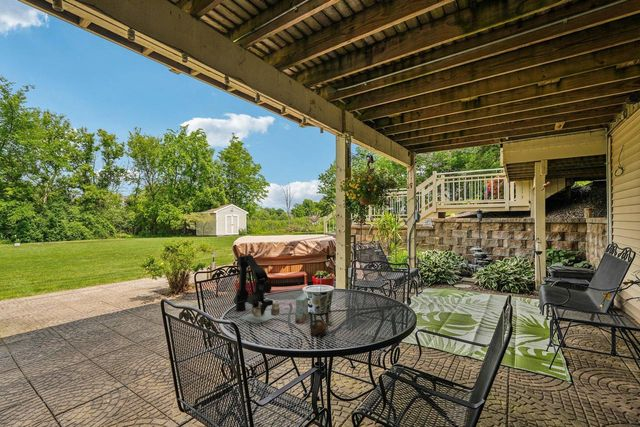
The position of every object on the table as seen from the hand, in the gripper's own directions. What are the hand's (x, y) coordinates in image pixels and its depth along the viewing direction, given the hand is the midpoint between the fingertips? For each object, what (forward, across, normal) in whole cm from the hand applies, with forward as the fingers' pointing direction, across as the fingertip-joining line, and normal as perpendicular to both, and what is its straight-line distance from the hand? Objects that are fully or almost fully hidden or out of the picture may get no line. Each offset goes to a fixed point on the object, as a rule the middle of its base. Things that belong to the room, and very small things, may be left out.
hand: (259, 314), depth 186 cm
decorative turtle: (+5, +41, +7) cm, 42 cm away
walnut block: (+4, -11, +10) cm, 15 cm away
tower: (+4, 0, +15) cm, 16 cm away
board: (+5, -6, +7) cm, 11 cm away
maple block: (+1, 0, 0) cm, 1 cm away
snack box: (+5, +18, +23) cm, 30 cm away
